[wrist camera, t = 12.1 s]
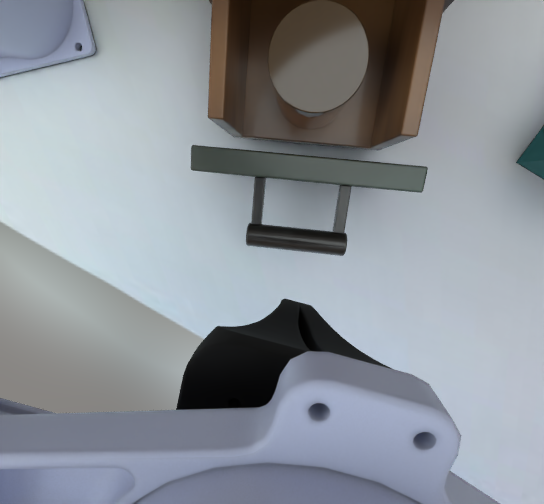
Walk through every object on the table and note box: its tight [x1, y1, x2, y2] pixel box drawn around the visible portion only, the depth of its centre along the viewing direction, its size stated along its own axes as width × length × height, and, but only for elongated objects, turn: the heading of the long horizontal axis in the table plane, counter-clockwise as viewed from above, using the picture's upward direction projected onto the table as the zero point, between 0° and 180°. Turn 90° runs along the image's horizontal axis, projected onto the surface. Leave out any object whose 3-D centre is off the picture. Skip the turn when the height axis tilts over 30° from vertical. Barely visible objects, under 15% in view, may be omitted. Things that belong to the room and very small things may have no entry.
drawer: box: [191, 0, 445, 256], centre depth 16 cm, size 18×11×7 cm, turn 174°
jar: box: [268, 0, 369, 130], centre depth 16 cm, size 5×5×5 cm
